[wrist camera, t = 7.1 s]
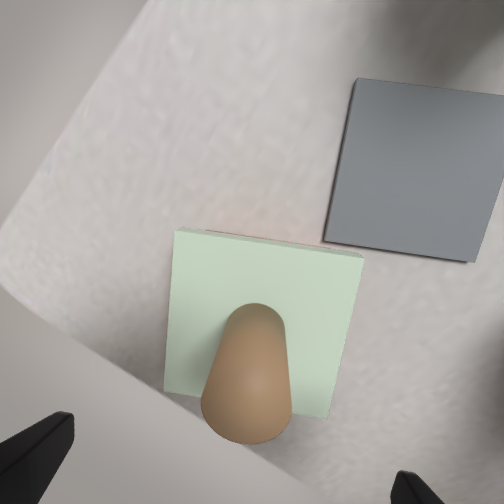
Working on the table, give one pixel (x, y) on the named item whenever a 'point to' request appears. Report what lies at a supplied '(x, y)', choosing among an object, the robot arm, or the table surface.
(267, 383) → the lid
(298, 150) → the table surface
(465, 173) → the mat
